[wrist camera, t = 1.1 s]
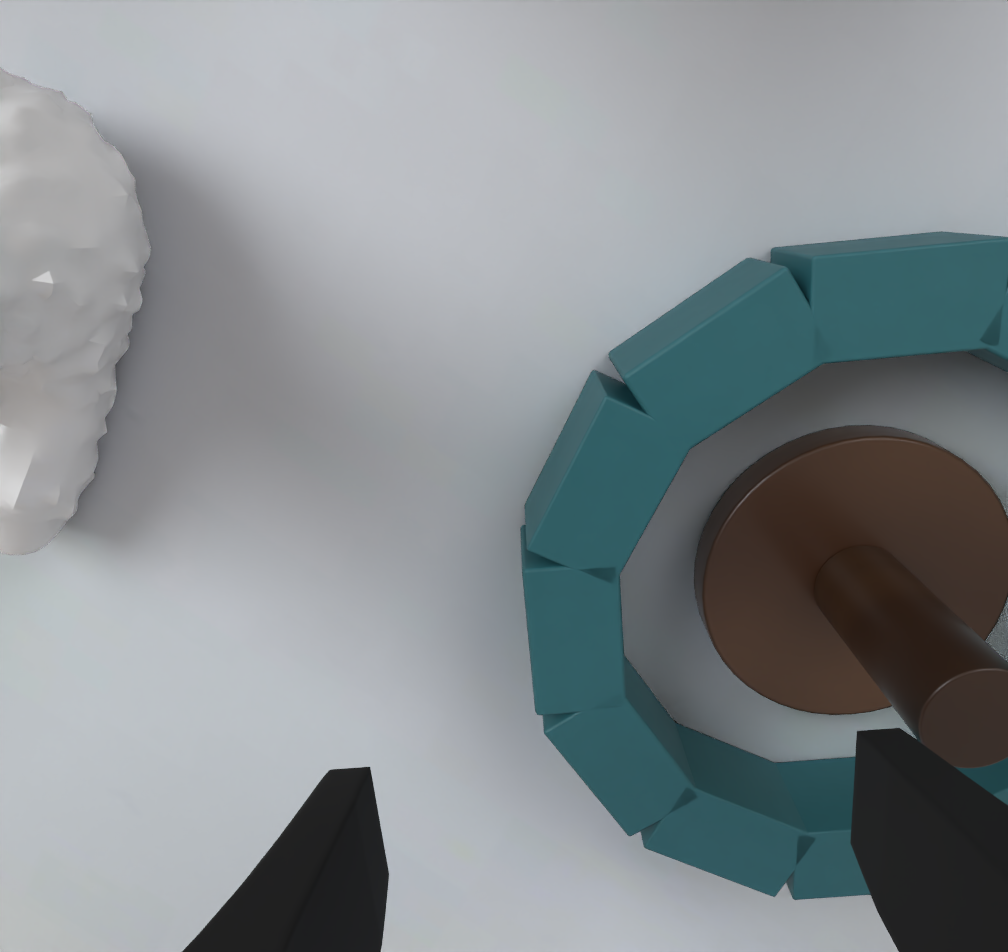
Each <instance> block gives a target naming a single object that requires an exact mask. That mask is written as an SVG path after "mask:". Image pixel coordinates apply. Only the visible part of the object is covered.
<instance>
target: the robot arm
mask: <svg viewBox="0 0 1008 952" xmlns="http://www.w3.org/2000/svg"><path fill="white" fill-rule="evenodd" d="M850 843H851V846H852V848H853V851H854V854H855V856H856V859H857V861H858V864H859V867H860V869H861V872H862V874H863V877H864V880H865V882H866V884H867V887H868V889H869V892H870V894H871V896H872V899H873V901H874V904H875V906H876V909H877V911H878V913H879V915H880V917H881V919H882V921H883V923H884V925H885V927H886V928H887V930H888V932H889V934H890V936H891V938H892V940H893V942H894V943H895V945H896V947H897V949H898V951H899V952H1008V805H1007V804H1005V803H1004V802H1002V801H1001V800H1000V799H998V798H997V797H995V796H994V795H993V794H991V793H990V792H988V791H987V790H985V789H984V788H983V787H981V786H980V785H979V784H977V783H976V782H974V781H973V780H972V779H970V778H969V777H967V776H966V775H965V774H963V773H962V772H960V771H959V770H958V769H956V768H955V767H954V766H952V765H951V764H949V763H948V762H947V761H945V760H944V759H943V758H941V757H940V756H938V755H937V754H936V753H934V752H933V751H932V750H930V749H929V748H927V747H926V746H925V745H923V744H922V743H920V742H919V741H918V740H916V739H915V738H913V737H912V736H910V735H909V734H907V733H906V732H904V731H903V730H901V729H900V728H894V729H880V730H867V731H857V741H856V757H855V774H854V790H853V807H852V823H851V840H850ZM388 879H389V872H388V866H387V861H386V855H385V849H384V844H383V838H382V832H381V827H380V821H379V815H378V809H377V804H376V798H375V792H374V787H373V781H372V775H371V770H370V767H362V768H348V769H334V770H329V771H328V773H327V774H326V775H325V776H324V777H323V778H322V780H321V781H320V782H319V784H318V785H317V786H316V788H315V789H314V791H313V792H312V793H311V795H310V796H309V797H308V799H307V800H306V802H305V803H304V804H303V806H302V807H301V808H300V810H299V811H298V812H297V814H296V815H295V817H294V818H293V819H292V821H291V822H290V823H289V825H288V826H287V827H286V829H285V830H284V831H283V833H282V834H281V835H280V837H279V838H278V839H277V841H276V842H275V843H274V844H273V846H272V847H271V848H270V849H269V851H268V852H267V853H266V855H265V856H264V857H263V858H262V860H261V861H260V862H259V863H258V865H257V866H256V867H255V868H254V870H253V871H252V872H251V874H250V875H249V876H248V877H247V879H246V880H245V881H244V882H243V883H242V885H241V886H240V887H239V888H238V889H237V891H236V892H235V893H234V894H233V895H232V896H231V898H230V899H229V900H228V901H227V902H226V903H225V904H224V906H223V907H222V908H221V909H220V910H219V911H218V913H217V914H216V915H215V916H214V917H213V918H212V919H211V921H210V922H209V923H208V924H207V925H206V926H205V928H204V929H203V930H202V931H201V932H200V933H199V934H198V935H197V936H196V938H195V939H194V940H193V941H192V942H191V943H190V944H189V945H188V946H187V947H186V948H185V949H184V950H183V952H380V951H381V947H382V939H383V930H384V921H385V911H386V900H387V890H388Z"/></svg>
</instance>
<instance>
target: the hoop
mask: <svg viewBox="0 0 1008 952" xmlns="http://www.w3.org/2000/svg"><path fill="white" fill-rule="evenodd" d="M959 351H966V352H968V353H970V354H972V355H974V356H976V357H978V358H980V359H982V360H984V361H986V362H988V363H990V364H992V365H994V366H996V367H998V368H1000V369H1002V370H1004V371H1006V372H1008V237H1001V236H989V235H976V234H964V233H952V232H932V233H921V234H911V235H900V236H890V237H880V238H869V239H859V240H848V241H838V242H827V243H817V244H806V245H796V246H785V247H775V248H772V249H771V263H769V262H765V261H761V260H757V259H753V258H746V259H745V260H743V261H742V262H740V263H739V264H737V265H736V266H734V267H733V268H732V269H730V270H729V271H727V272H726V273H724V274H723V275H721V276H720V277H718V278H717V279H715V280H714V281H713V282H711V283H710V284H708V285H707V286H705V287H704V288H702V289H701V290H699V291H698V292H696V293H695V294H694V295H692V296H691V297H689V298H688V299H686V300H685V301H683V302H682V303H680V304H679V305H677V306H676V307H675V308H673V309H672V310H670V311H669V312H667V313H666V314H664V315H663V316H661V317H660V318H658V319H657V320H655V321H654V322H653V323H651V324H650V325H648V326H647V327H645V328H644V329H642V330H641V331H639V332H638V333H636V334H635V335H634V336H632V337H631V338H629V339H628V340H626V341H625V342H623V343H622V344H620V345H619V346H617V347H616V348H615V349H613V350H612V351H610V353H609V354H608V355H609V358H610V360H611V362H612V363H613V365H614V366H615V368H616V369H617V371H618V373H619V374H620V376H621V377H622V379H623V381H624V382H625V384H624V383H622V382H619V381H617V380H615V379H613V378H611V377H609V376H606V375H604V374H602V373H600V372H598V371H595V370H593V371H592V372H591V374H590V376H589V378H588V380H587V382H586V384H585V386H584V388H583V390H582V392H581V394H580V396H579V398H578V400H577V402H576V404H575V406H574V408H573V410H572V412H571V414H570V416H569V418H568V420H567V422H566V424H565V426H564V428H563V430H562V432H561V434H560V436H559V438H558V440H557V442H556V444H555V446H554V448H553V450H552V452H551V454H550V456H549V458H548V460H547V462H546V464H545V466H544V468H543V470H542V472H541V474H540V476H539V477H538V479H537V481H536V483H535V485H534V487H533V489H532V491H531V493H530V495H529V497H528V499H527V501H526V503H525V522H526V525H522V526H521V555H522V576H523V586H524V597H525V608H526V618H527V629H528V639H529V650H530V660H531V671H532V681H533V692H534V702H535V712H536V713H537V715H543V726H544V734H545V735H546V736H547V737H548V738H549V740H550V741H551V742H552V743H553V745H554V746H555V747H556V748H557V749H558V751H559V752H560V753H561V754H562V756H563V757H564V758H565V759H566V760H567V762H568V763H569V764H570V765H571V766H572V768H573V769H574V770H575V771H576V773H577V774H578V775H579V776H580V777H581V779H582V780H583V781H584V782H585V784H586V785H587V786H588V787H589V788H590V790H591V791H592V792H593V793H594V795H595V796H596V797H597V798H598V799H599V801H600V802H601V803H602V804H603V805H604V807H605V808H606V809H607V810H608V812H609V813H610V814H611V815H612V816H613V818H614V819H615V820H616V821H617V823H618V824H619V825H620V826H621V827H622V829H623V830H624V831H625V832H626V833H627V835H628V836H632V835H634V834H636V833H638V832H639V831H641V835H642V840H643V845H644V847H645V848H646V849H649V850H651V851H654V852H657V853H659V854H662V855H665V856H667V857H670V858H673V859H675V860H678V861H680V862H683V863H686V864H688V865H691V866H694V867H696V868H699V869H702V870H704V871H707V872H710V873H712V874H715V875H717V876H720V877H723V878H725V879H728V880H731V881H733V882H736V883H739V884H741V885H744V886H747V887H749V888H752V889H754V890H757V891H760V892H762V893H765V894H768V895H770V896H773V897H775V896H776V895H777V893H778V892H779V891H780V889H781V888H782V887H783V885H784V884H785V882H786V883H787V885H788V888H789V890H790V893H791V895H792V897H793V899H794V900H798V899H813V898H828V897H843V896H857V895H871V894H870V892H869V889H868V887H867V884H866V882H865V880H864V877H863V874H862V872H861V869H860V867H859V864H858V861H857V859H856V856H855V854H854V851H853V848H852V846H851V843H850V840H851V823H852V807H853V790H854V774H855V757H849V758H835V759H822V760H808V761H794V762H781V763H774V762H771V761H769V760H766V759H764V758H761V757H759V756H756V755H754V754H751V753H749V752H746V751H744V750H741V749H739V748H736V747H734V746H732V745H729V744H727V743H724V742H722V741H719V740H717V739H714V738H712V737H709V736H707V735H704V734H702V733H699V732H697V731H694V730H692V729H689V728H687V727H684V726H682V725H680V724H677V723H675V722H674V721H673V719H672V718H671V717H670V715H669V714H668V713H667V711H666V710H665V709H664V707H663V706H662V705H661V703H660V702H659V701H658V700H657V698H656V697H655V696H654V694H653V693H652V692H651V690H650V689H649V688H648V686H647V685H646V684H645V682H644V681H643V680H642V678H641V677H640V676H639V674H638V673H637V672H636V670H635V669H634V668H633V666H632V665H631V664H630V662H629V661H628V660H627V658H626V657H625V656H624V647H623V627H622V608H621V588H620V573H621V572H622V570H623V568H624V566H625V564H626V563H627V561H628V559H629V557H630V555H631V554H632V552H633V550H634V548H635V547H636V545H637V543H638V541H639V539H640V538H641V536H642V534H643V532H644V530H645V529H646V527H647V525H648V523H649V521H650V520H651V518H652V516H653V514H654V513H655V511H656V509H657V507H658V505H659V504H660V502H661V500H662V498H663V496H664V495H665V493H666V491H667V489H668V488H669V486H670V484H671V482H672V480H673V479H674V477H675V475H676V473H677V471H678V470H679V468H680V466H681V464H682V463H683V461H684V459H685V457H686V455H687V454H688V452H689V450H690V449H691V448H693V447H694V446H696V445H697V444H699V443H700V442H702V441H703V440H705V439H707V438H708V437H710V436H711V435H713V434H714V433H716V432H717V431H719V430H721V429H722V428H724V427H725V426H727V425H728V424H730V423H731V422H733V421H735V420H736V419H738V418H739V417H741V416H742V415H744V414H746V413H747V412H749V411H750V410H752V409H753V408H755V407H756V406H758V405H760V404H761V403H763V402H764V401H766V400H767V399H769V398H770V397H772V396H774V395H775V394H777V393H778V392H780V391H781V390H783V389H784V388H786V387H788V386H789V385H791V384H792V383H794V382H795V381H797V380H799V379H800V378H802V377H803V376H805V375H806V374H808V373H809V372H811V371H813V370H814V369H816V368H817V367H819V366H820V365H822V364H826V363H837V362H848V361H859V360H870V359H882V358H893V357H904V356H915V355H926V354H937V353H948V352H959ZM918 741H919V740H918ZM955 768H956V769H958V770H959V771H960V772H962V773H963V774H965V775H966V776H967V777H969V778H970V779H972V780H973V781H974V782H976V783H977V784H979V785H980V786H981V787H983V788H984V789H985V790H987V791H988V792H990V793H991V794H993V795H994V796H995V797H997V798H998V799H1000V800H1001V801H1002V802H1004V803H1005V804H1007V805H1008V757H1007V758H1006V759H1004V760H1002V761H1000V762H997V763H995V764H992V765H989V766H985V767H979V768H958V767H955Z"/></svg>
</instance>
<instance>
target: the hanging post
mask: <svg viewBox="0 0 1008 952" xmlns="http://www.w3.org/2000/svg"><path fill="white" fill-rule="evenodd" d="M694 586H695V597H696V601H697V605H698V609H699V613H700V616H701V618H702V621H703V623H704V625H705V628H706V630H707V632H708V634H709V637H710V639H711V641H712V643H713V645H714V647H715V649H716V650H717V652H718V654H719V655H720V657H721V659H722V660H723V662H724V663H725V664H726V665H727V666H728V668H729V669H730V670H731V671H732V672H733V674H734V675H736V676H737V677H738V678H739V679H740V680H741V681H742V682H743V683H744V684H746V685H747V686H748V687H750V688H751V689H753V690H754V691H756V692H757V693H759V694H760V695H762V696H764V697H766V698H768V699H770V700H772V701H774V702H776V703H778V704H781V705H784V706H787V707H790V708H793V709H796V710H801V711H806V712H810V713H818V714H829V715H844V714H857V713H865V712H871V711H875V710H880V709H884V708H888V707H891V706H893V707H894V709H895V710H896V711H897V712H898V714H899V715H900V716H901V718H902V719H903V720H904V722H905V723H906V724H907V726H908V727H909V728H910V730H911V731H912V732H913V734H914V735H915V736H916V738H917V739H918V740H919V742H920V743H922V744H923V745H925V746H926V747H927V748H929V749H930V750H932V751H933V752H934V753H936V754H937V755H938V756H940V757H941V758H943V759H944V760H945V761H947V762H948V763H949V764H951V765H952V766H954V767H958V768H979V767H985V766H989V765H992V764H995V763H997V762H1000V761H1002V760H1004V759H1006V758H1007V757H1008V662H1007V661H1006V660H1004V659H1003V658H1002V657H1001V656H1000V655H999V654H998V653H997V652H996V651H995V650H994V649H993V648H992V647H991V646H989V645H988V644H987V643H986V642H985V640H986V639H987V637H988V636H989V634H990V632H991V631H992V629H993V628H994V626H995V625H996V623H997V621H998V619H999V617H1000V615H1001V613H1002V611H1003V609H1004V606H1005V603H1006V600H1007V597H1008V517H1007V515H1006V513H1005V510H1004V508H1003V506H1002V504H1001V501H1000V499H999V498H998V496H997V495H996V493H995V492H994V490H993V489H992V487H991V486H990V484H989V483H988V482H987V481H986V480H985V479H984V478H983V477H982V476H981V475H980V473H979V472H978V471H977V470H975V469H974V468H973V467H971V466H970V465H969V464H968V463H966V462H965V461H964V460H963V459H961V458H959V457H958V456H956V455H954V454H952V453H951V452H949V451H947V450H945V449H944V448H942V447H940V446H939V445H937V444H935V443H933V442H932V441H930V440H928V439H926V438H923V437H921V436H918V435H916V434H913V433H911V432H907V431H903V430H899V429H895V428H891V427H882V426H872V425H861V426H844V427H838V428H831V429H826V430H823V431H819V432H815V433H812V434H808V435H805V436H803V437H801V438H798V439H796V440H793V441H791V442H788V443H786V444H784V445H783V446H781V447H779V448H777V449H775V450H773V451H772V452H770V453H768V454H767V455H766V456H764V457H763V458H761V459H760V460H758V461H757V462H756V463H754V464H753V465H752V466H751V467H749V468H748V469H747V470H746V471H745V472H744V473H743V474H742V475H741V476H740V477H738V478H737V479H736V481H735V482H734V483H733V484H732V485H731V486H730V488H729V489H728V490H727V491H726V492H725V493H724V495H723V496H722V498H721V499H720V501H719V502H718V504H717V505H716V507H715V508H714V510H713V511H712V513H711V515H710V517H709V519H708V521H707V523H706V525H705V527H704V530H703V533H702V536H701V539H700V542H699V545H698V550H697V555H696V560H695V570H694Z"/></svg>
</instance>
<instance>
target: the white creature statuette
mask: <svg viewBox="0 0 1008 952" xmlns="http://www.w3.org/2000/svg"><path fill="white" fill-rule="evenodd" d="M150 253H151V246H150V242H149V239H148V235H147V232H146V229H145V227H144V224H143V221H142V210H141V207H140V205H139V202H138V199H137V195H136V191H135V178H134V177H133V175H132V174H131V173H130V171H129V170H128V167H127V164H126V162H125V160H124V158H123V157H122V155H121V153H120V152H119V151H118V150H117V149H116V148H115V147H114V146H113V145H111V144H109V143H107V142H105V141H104V140H103V138H102V137H101V135H100V134H99V133H98V131H97V130H96V128H95V127H94V125H93V121H92V117H91V113H89V112H88V111H87V110H85V109H84V108H83V107H81V106H80V105H78V104H77V103H76V102H71V101H68V100H67V99H66V97H65V95H64V93H63V92H61V91H57V90H54V89H50V88H45V87H41V86H38V85H35V84H32V83H31V82H30V81H28V80H27V79H25V78H24V77H20V76H16V75H12V74H10V73H8V72H7V71H5V70H4V69H2V68H1V67H0V550H1V552H2V554H8V555H24V554H28V553H33V552H36V551H38V550H40V549H41V548H43V547H45V546H46V545H48V543H49V542H50V541H51V540H52V539H53V538H54V537H55V536H56V535H57V534H58V533H59V532H60V530H61V529H62V528H63V526H64V525H65V524H66V522H67V521H68V520H69V519H70V518H71V517H72V516H73V515H74V514H75V513H76V511H77V510H78V498H79V496H80V494H81V493H82V491H83V490H84V489H85V488H86V487H87V486H88V485H89V483H90V482H91V481H92V480H93V479H94V477H95V473H94V470H95V467H96V465H97V462H98V460H99V458H98V447H97V441H98V440H99V439H100V438H101V437H102V436H103V435H104V434H105V433H106V432H107V427H106V422H105V417H106V416H107V414H108V413H109V412H110V410H111V409H112V407H113V405H114V401H115V397H116V393H117V385H116V374H115V365H116V363H117V362H118V361H119V359H120V358H121V357H122V356H123V355H124V354H125V352H126V351H127V350H128V349H129V345H130V341H129V337H128V333H129V332H130V331H131V330H132V319H133V314H134V313H136V312H137V311H139V310H140V308H141V304H142V301H143V299H142V295H141V292H140V286H141V284H142V282H143V279H144V276H145V273H146V272H145V269H144V265H145V264H146V263H147V261H148V260H149V257H150Z"/></svg>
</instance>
